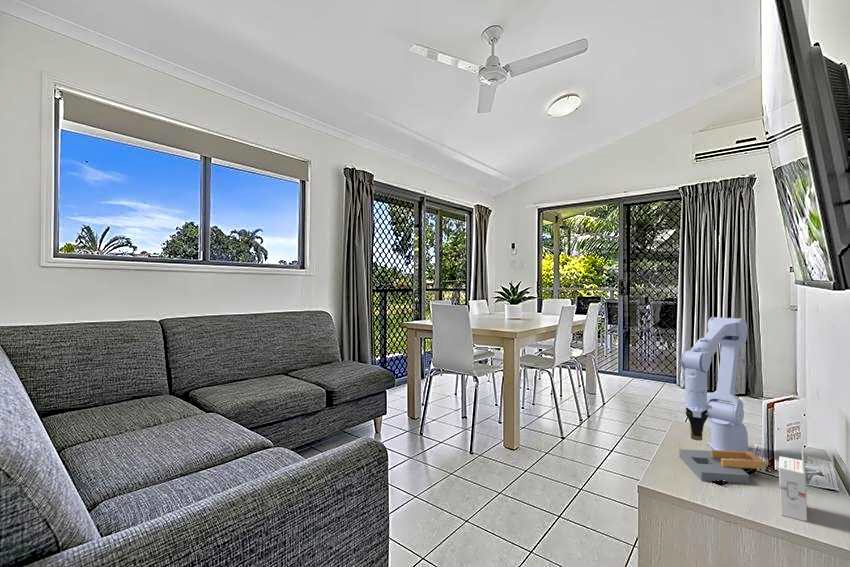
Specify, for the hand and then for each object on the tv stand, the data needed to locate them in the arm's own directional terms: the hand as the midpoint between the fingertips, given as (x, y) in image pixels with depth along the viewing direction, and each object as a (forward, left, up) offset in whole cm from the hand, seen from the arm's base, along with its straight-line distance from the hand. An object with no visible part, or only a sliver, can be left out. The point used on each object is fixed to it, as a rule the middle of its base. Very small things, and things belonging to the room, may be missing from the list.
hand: (696, 434), depth 128 cm
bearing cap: (-9, +3, -7) cm, 12 cm away
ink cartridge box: (-12, +24, -10) cm, 28 cm away
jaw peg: (0, 0, -2) cm, 2 cm away
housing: (-3, +3, -10) cm, 10 cm away
